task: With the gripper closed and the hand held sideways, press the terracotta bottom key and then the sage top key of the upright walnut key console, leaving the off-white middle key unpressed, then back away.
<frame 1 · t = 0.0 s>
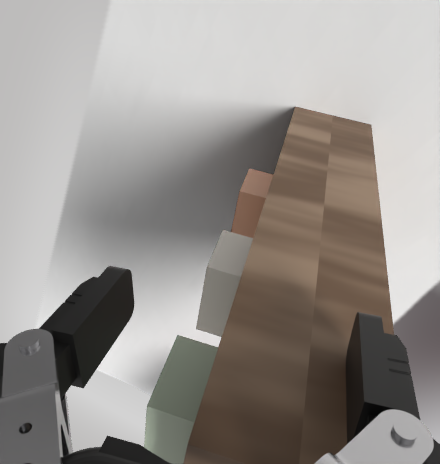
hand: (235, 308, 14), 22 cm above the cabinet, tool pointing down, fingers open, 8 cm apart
console: (310, 181, 35), on the cabinet
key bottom: (258, 214, 30), point 7 cm above the cabinet, slide at 0.0 cm
key middle: (235, 287, 24), point 15 cm above the cabinet, slide at 0.0 cm
key top: (194, 412, 18), point 23 cm above the cabinet, slide at 0.0 cm
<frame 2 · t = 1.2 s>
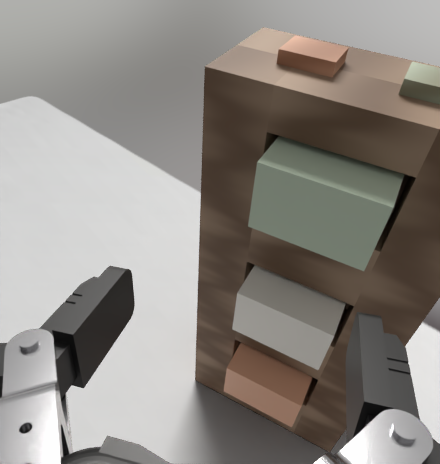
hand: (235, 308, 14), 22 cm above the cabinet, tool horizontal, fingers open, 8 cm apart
console: (272, 383, 35), on the cabinet
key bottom: (268, 378, 28), point 7 cm above the cabinet, slide at 0.0 cm
key middle: (289, 310, 22), point 15 cm above the cabinet, slide at 0.0 cm
key top: (323, 196, 17), point 23 cm above the cabinet, slide at 0.2 cm
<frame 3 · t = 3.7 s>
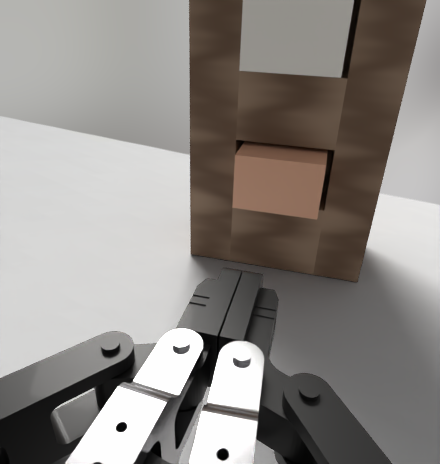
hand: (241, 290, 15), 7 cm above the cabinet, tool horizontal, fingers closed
console: (276, 246, 31), on the cabinet
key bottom: (280, 178, 25), point 7 cm above the cabinet, slide at 0.0 cm
key middle: (295, 35, 21), point 15 cm above the cabinet, slide at 0.0 cm
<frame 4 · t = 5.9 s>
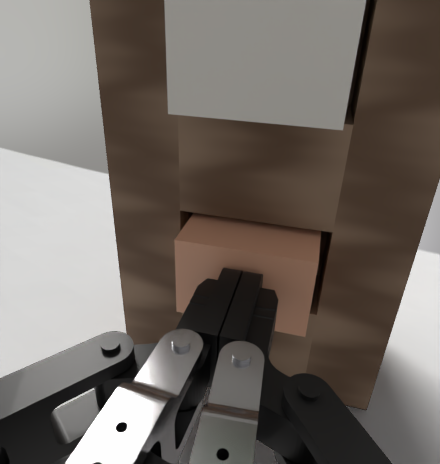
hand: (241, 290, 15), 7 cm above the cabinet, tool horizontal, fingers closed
console: (251, 339, 23), on the cabinet
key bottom: (249, 266, 16), point 7 cm above the cabinet, slide at 0.2 cm, touching gripper
key middle: (264, 53, 12), point 15 cm above the cabinet, slide at 0.0 cm
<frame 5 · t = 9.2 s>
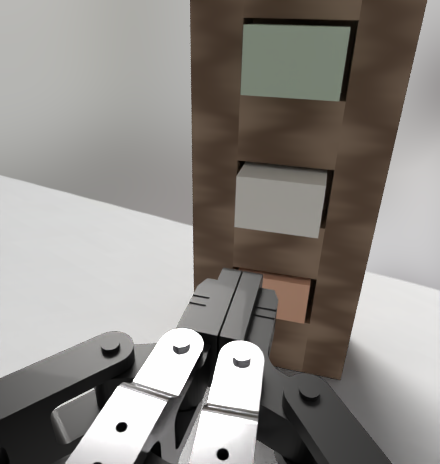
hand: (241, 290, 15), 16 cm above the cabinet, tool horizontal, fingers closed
console: (270, 339, 36), on the cabinet
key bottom: (273, 286, 31), point 7 cm above the cabinet, slide at 1.5 cm
key middle: (280, 197, 26), point 15 cm above the cabinet, slide at 0.0 cm
key top: (294, 60, 22), point 23 cm above the cabinet, slide at 0.2 cm
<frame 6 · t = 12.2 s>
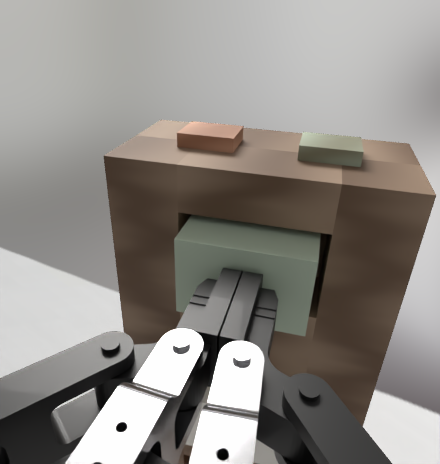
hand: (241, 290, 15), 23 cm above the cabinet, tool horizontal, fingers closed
key middle: (236, 404, 20), point 15 cm above the cabinet, slide at 0.0 cm
key top: (248, 265, 16), point 23 cm above the cabinet, slide at 0.5 cm, touching gripper
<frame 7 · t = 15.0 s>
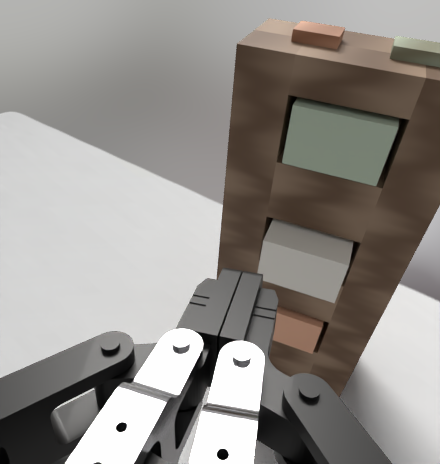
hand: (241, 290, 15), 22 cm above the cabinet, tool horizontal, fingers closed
console: (280, 346, 39), on the cabinet
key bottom: (288, 314, 33), point 7 cm above the cabinet, slide at 1.5 cm
key middle: (304, 256, 26), point 15 cm above the cabinet, slide at 0.0 cm
key top: (339, 133, 22), point 23 cm above the cabinet, slide at 1.6 cm
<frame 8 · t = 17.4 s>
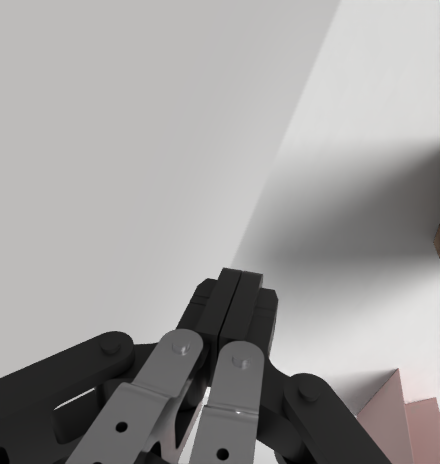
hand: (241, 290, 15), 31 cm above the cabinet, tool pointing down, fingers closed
greeting card: (384, 392, 57), on the cabinet
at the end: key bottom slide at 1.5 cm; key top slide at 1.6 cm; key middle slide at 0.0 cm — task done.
